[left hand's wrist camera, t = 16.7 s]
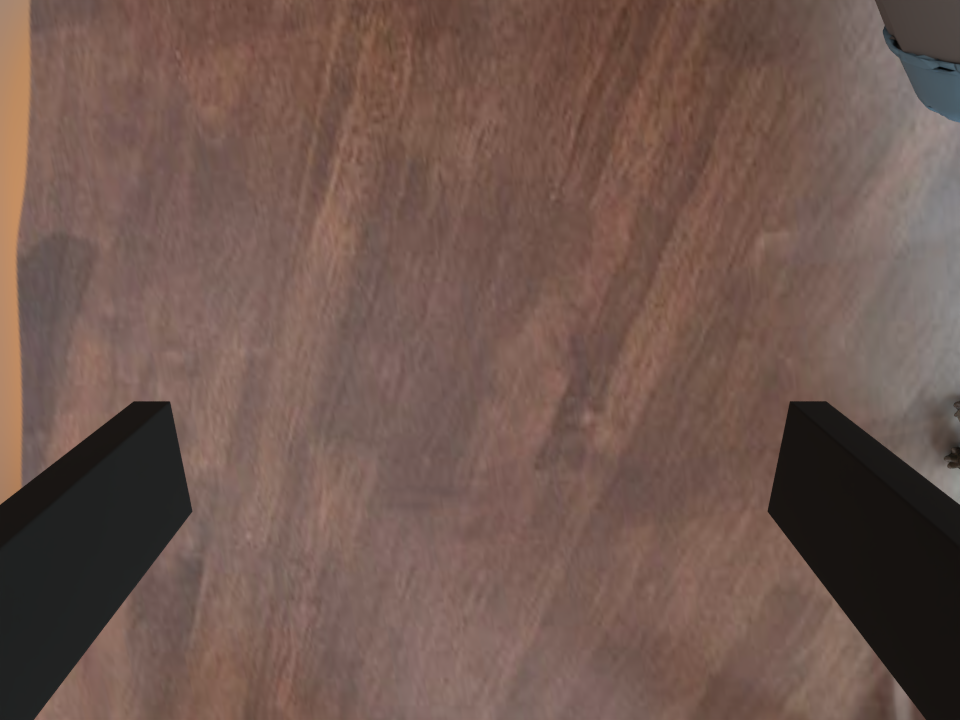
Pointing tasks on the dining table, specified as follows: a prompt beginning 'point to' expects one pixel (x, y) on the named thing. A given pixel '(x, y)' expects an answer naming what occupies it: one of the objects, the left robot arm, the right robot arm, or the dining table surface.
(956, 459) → the toy dinosaur
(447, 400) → the dining table surface
